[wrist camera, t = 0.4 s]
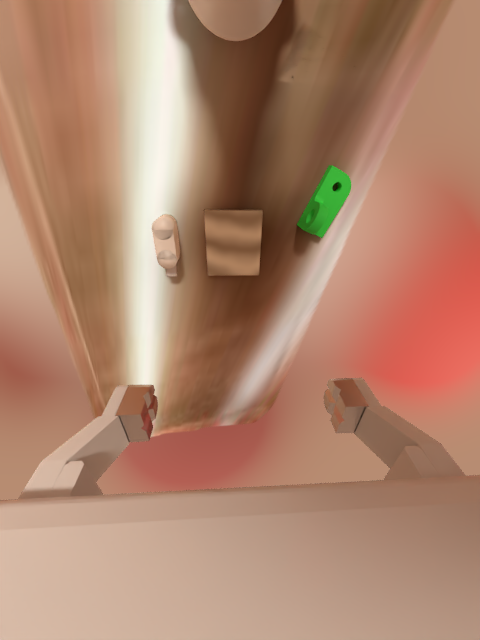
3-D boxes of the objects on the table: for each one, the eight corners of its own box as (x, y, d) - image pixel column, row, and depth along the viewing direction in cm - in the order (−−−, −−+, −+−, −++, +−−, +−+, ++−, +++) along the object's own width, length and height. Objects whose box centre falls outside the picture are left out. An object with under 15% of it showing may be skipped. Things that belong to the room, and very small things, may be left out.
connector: (156, 214, 51) (150, 218, 46) (175, 214, 51) (171, 218, 47) (165, 271, 57) (160, 279, 53) (182, 271, 58) (179, 279, 53)
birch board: (204, 209, 51) (204, 210, 49) (261, 209, 51) (262, 210, 50) (208, 273, 58) (207, 275, 57) (258, 272, 59) (258, 275, 57)
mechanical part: (319, 235, 55) (332, 245, 48) (296, 224, 53) (306, 233, 47) (352, 180, 49) (373, 182, 43) (328, 165, 48) (345, 165, 41)
